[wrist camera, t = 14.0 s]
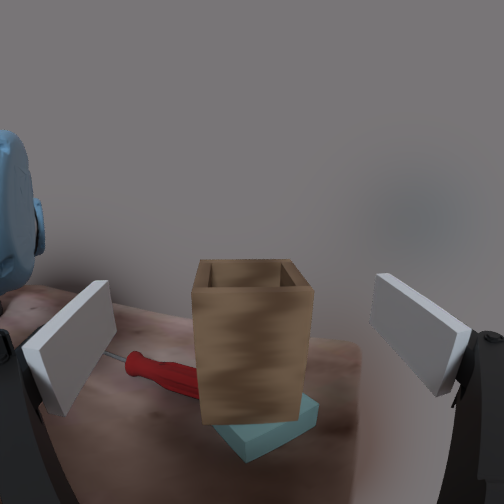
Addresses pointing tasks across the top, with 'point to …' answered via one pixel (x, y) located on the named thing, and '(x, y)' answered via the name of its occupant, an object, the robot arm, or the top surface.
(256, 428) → the post stand
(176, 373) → the screwdriver
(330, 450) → the top surface
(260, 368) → the brown tall open box
